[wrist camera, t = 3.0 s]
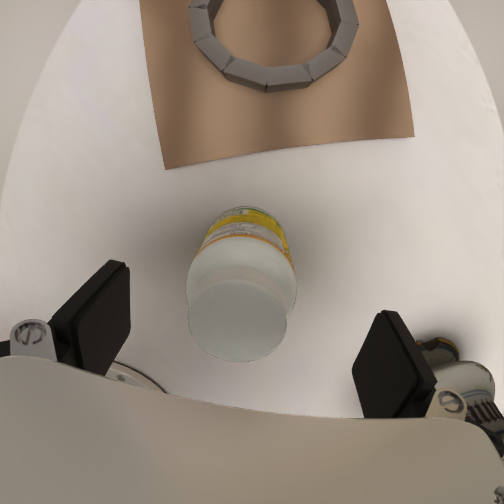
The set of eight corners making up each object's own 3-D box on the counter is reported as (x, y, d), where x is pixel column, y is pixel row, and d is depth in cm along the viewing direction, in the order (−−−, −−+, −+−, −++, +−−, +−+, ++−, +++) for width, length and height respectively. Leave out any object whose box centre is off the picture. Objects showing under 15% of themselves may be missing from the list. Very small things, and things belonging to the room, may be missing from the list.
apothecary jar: (476, 313, 23) (583, 446, 6) (451, 398, 27) (510, 517, 10) (362, 343, 24) (435, 544, 7) (355, 427, 28) (389, 573, 11)
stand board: (170, 168, 19) (152, 174, 16) (142, -29, 14) (124, -51, 10) (406, 136, 18) (433, 138, 15) (358, -54, 13) (371, -78, 9)
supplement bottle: (226, 192, 20) (197, 237, 11) (300, 226, 20) (330, 295, 11) (195, 262, 22) (156, 346, 13) (265, 291, 22) (267, 387, 13)
